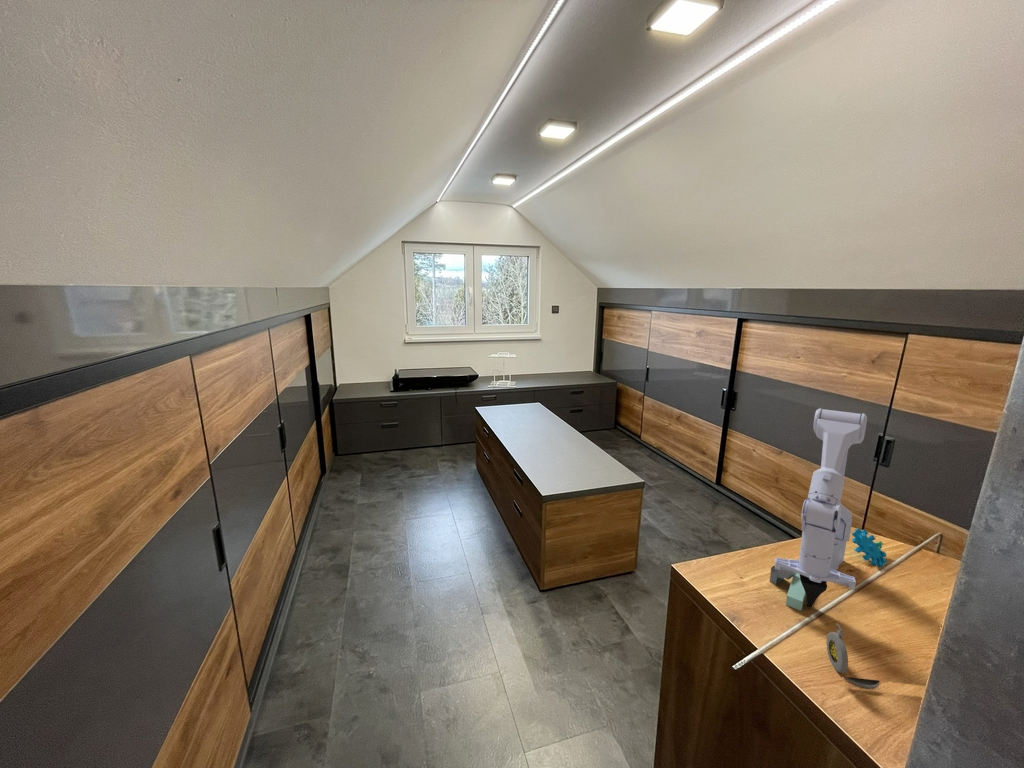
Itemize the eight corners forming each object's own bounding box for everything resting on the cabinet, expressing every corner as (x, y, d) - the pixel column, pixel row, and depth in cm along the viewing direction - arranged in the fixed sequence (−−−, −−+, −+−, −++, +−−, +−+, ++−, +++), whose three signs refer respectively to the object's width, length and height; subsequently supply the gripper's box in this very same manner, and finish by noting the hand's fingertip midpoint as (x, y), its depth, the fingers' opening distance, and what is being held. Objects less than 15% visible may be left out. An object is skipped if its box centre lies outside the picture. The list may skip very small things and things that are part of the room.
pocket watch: (888, 685, 75) (896, 639, 73) (855, 698, 73) (863, 651, 71) (841, 649, 83) (848, 607, 81) (811, 661, 81) (817, 617, 79)
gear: (874, 568, 105) (849, 529, 110) (852, 573, 109) (829, 535, 115) (898, 563, 109) (873, 526, 114) (876, 568, 113) (853, 532, 119)
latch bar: (795, 568, 106) (796, 555, 105) (813, 574, 104) (815, 561, 103) (783, 603, 94) (784, 590, 93) (804, 612, 91) (805, 598, 91)
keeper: (777, 580, 104) (779, 561, 103) (794, 589, 100) (796, 570, 99) (769, 586, 102) (771, 567, 101) (786, 595, 98) (788, 576, 97)
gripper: (778, 551, 90) (772, 604, 93) (862, 571, 83) (853, 628, 86) (776, 536, 96) (771, 586, 99) (855, 553, 89) (847, 607, 91)
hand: (809, 604), depth 93 cm, fingers closed
